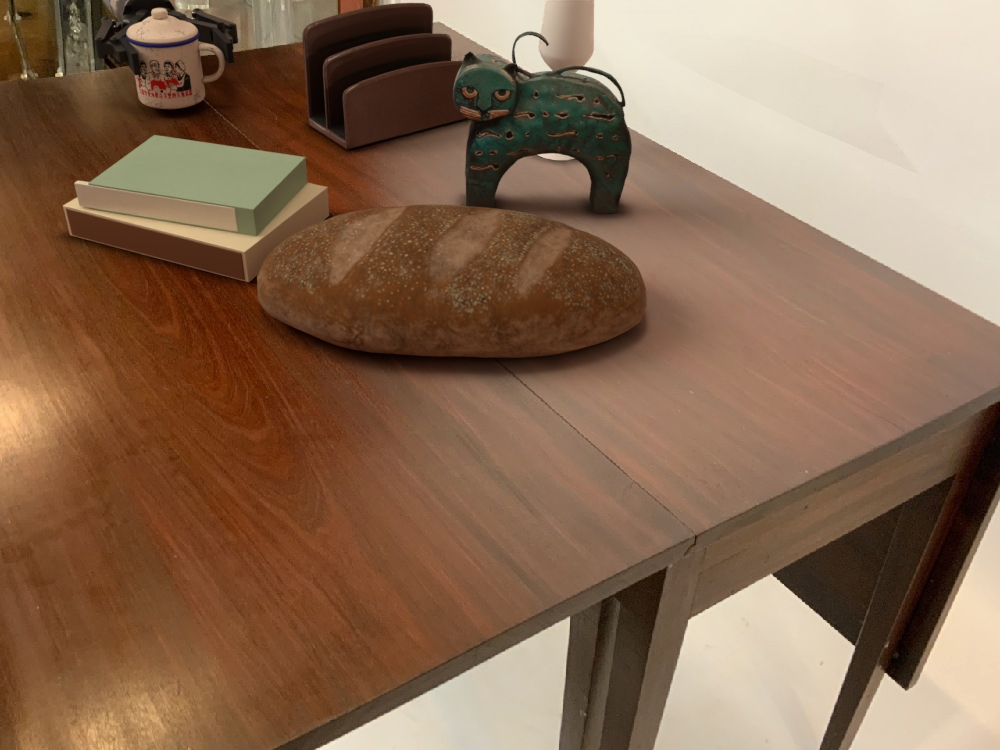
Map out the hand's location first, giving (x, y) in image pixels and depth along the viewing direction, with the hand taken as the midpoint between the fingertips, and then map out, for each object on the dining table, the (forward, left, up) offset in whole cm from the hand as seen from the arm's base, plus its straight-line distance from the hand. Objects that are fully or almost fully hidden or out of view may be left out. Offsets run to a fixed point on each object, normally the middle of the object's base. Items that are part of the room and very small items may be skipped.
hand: (184, 58), depth 125 cm
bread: (+50, -27, -8) cm, 58 cm away
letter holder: (+24, +11, -8) cm, 27 cm away
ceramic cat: (+50, -3, -8) cm, 51 cm away
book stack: (+19, -24, -8) cm, 32 cm away
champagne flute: (+47, +13, -8) cm, 49 cm away
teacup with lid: (-3, +2, -7) cm, 8 cm away
